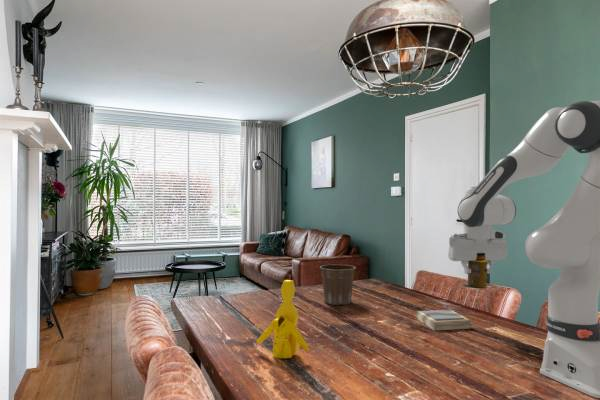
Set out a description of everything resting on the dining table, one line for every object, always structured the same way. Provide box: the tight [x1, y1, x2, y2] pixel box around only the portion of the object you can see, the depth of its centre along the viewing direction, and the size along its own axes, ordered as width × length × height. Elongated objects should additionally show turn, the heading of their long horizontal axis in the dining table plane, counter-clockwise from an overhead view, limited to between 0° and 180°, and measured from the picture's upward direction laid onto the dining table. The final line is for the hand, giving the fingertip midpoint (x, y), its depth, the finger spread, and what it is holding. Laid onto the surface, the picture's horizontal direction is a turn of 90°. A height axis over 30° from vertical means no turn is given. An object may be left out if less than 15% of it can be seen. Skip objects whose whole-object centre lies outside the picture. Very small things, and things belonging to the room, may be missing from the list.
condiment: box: [458, 253, 492, 291], centre depth 138 cm, size 7×8×12 cm
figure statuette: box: [255, 279, 310, 360], centre depth 120 cm, size 18×8×22 cm, turn 64°
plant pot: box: [319, 264, 356, 306], centre depth 182 cm, size 16×16×16 cm
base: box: [416, 309, 472, 331], centre depth 150 cm, size 14×14×3 cm
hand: (477, 273), depth 138 cm, fingers closed on condiment, 6 cm apart
